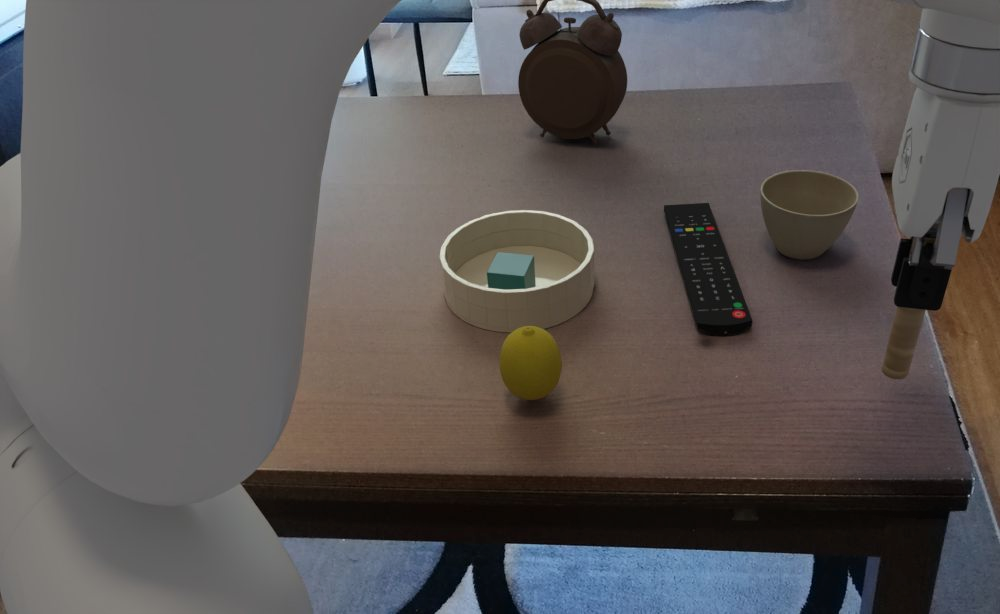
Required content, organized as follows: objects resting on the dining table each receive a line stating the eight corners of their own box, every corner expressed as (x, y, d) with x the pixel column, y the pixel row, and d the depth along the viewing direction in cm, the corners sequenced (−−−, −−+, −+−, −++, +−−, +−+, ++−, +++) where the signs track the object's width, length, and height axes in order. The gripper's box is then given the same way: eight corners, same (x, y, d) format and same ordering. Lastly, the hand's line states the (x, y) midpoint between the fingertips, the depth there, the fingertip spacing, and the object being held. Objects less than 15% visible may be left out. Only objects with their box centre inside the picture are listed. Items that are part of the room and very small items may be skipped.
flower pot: (756, 271, 94) (764, 213, 90) (751, 224, 102) (757, 168, 98) (854, 274, 92) (866, 215, 88) (840, 226, 100) (851, 170, 96)
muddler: (909, 381, 69) (947, 241, 62) (882, 378, 70) (917, 238, 62) (906, 365, 71) (944, 227, 63) (880, 362, 71) (914, 224, 64)
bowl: (576, 341, 86) (575, 300, 84) (423, 323, 91) (417, 283, 88) (606, 254, 99) (606, 216, 96) (470, 241, 103) (466, 204, 100)
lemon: (567, 380, 82) (565, 312, 77) (556, 421, 77) (553, 351, 73) (509, 375, 83) (504, 307, 78) (496, 414, 79) (489, 345, 74)
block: (526, 308, 91) (524, 276, 88) (489, 304, 92) (486, 272, 89) (535, 286, 94) (534, 255, 91) (500, 282, 95) (497, 251, 92)
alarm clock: (631, 132, 124) (633, -11, 113) (614, 154, 119) (615, 6, 107) (537, 120, 130) (530, -18, 118) (517, 140, 125) (508, -2, 113)
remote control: (707, 212, 105) (708, 202, 104) (752, 334, 85) (753, 323, 85) (663, 215, 105) (663, 205, 104) (697, 337, 86) (698, 326, 85)
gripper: (902, 18, 63) (857, 238, 73) (925, 104, 50) (866, 354, 61) (1019, 21, 61) (954, 247, 71) (1072, 111, 48) (985, 368, 59)
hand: (914, 294), depth 66 cm, fingers closed on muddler, 2 cm apart
